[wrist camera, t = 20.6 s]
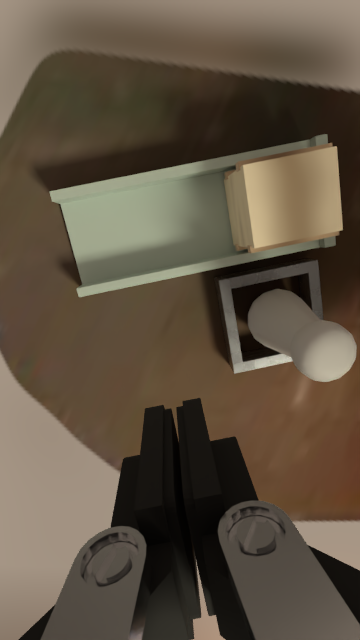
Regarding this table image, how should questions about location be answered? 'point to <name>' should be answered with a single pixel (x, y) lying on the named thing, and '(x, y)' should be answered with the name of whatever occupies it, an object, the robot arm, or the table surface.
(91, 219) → the bay
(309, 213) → the crate
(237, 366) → the grey square frame
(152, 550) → the robot arm
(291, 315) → the salt shaker
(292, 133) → the table surface
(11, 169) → the table surface
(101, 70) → the table surface
